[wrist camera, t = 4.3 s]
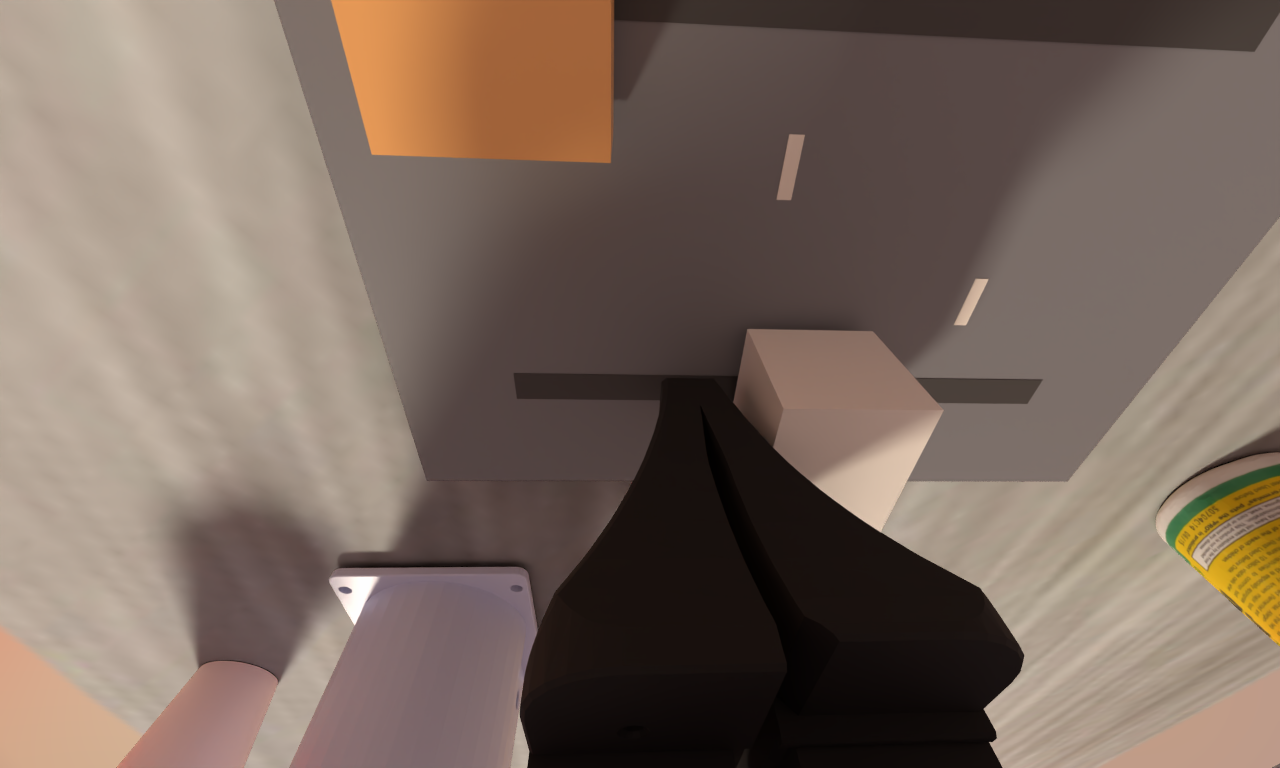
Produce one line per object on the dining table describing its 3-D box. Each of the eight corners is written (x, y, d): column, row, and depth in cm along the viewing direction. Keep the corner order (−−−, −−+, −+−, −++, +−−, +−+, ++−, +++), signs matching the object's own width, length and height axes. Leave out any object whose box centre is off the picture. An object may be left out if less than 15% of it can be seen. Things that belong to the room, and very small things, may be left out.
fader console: (1023, 439, 17) (1068, 481, 15) (446, 435, 16) (426, 481, 14) (1470, -221, 8) (1688, -291, 6) (248, -322, 7) (134, -436, 5)
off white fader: (827, 454, 13) (873, 544, 11) (723, 454, 13) (746, 545, 11) (872, 331, 11) (943, 410, 9) (747, 329, 11) (783, 409, 9)
